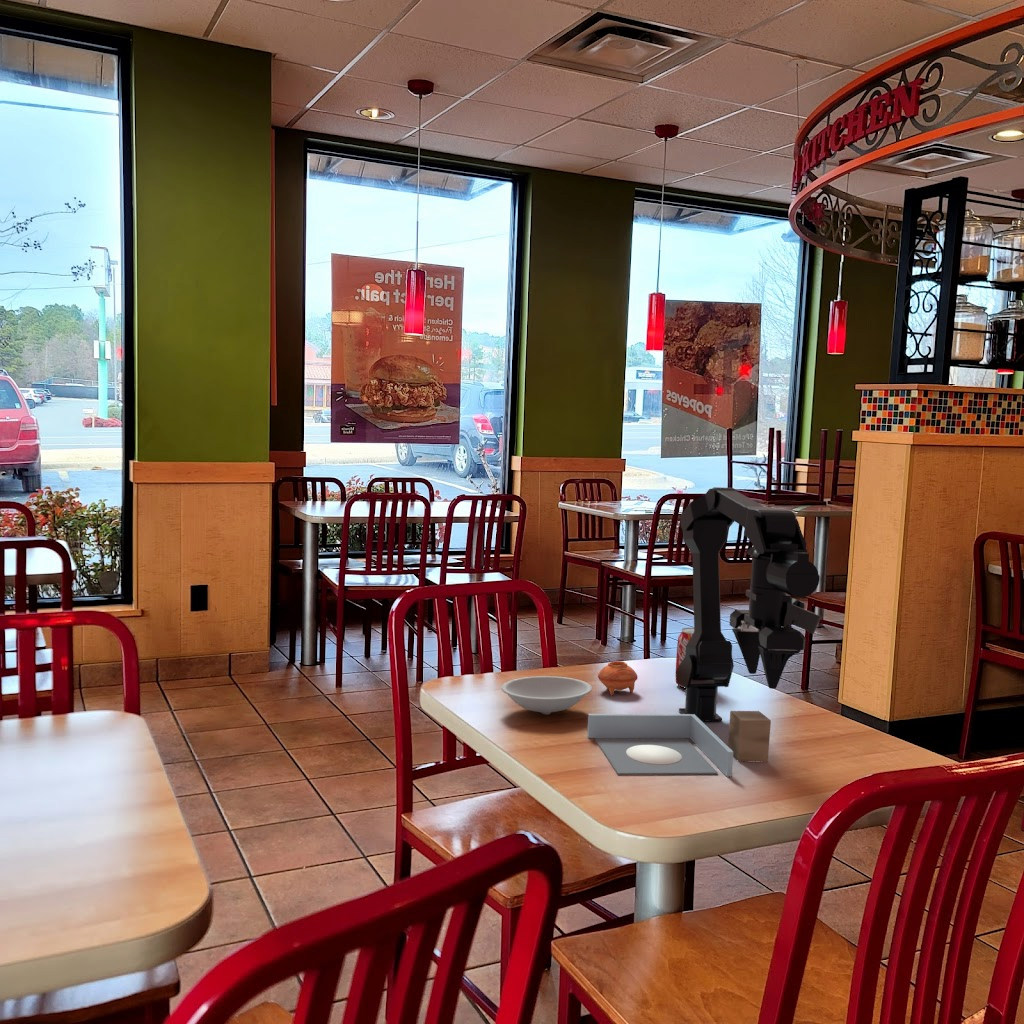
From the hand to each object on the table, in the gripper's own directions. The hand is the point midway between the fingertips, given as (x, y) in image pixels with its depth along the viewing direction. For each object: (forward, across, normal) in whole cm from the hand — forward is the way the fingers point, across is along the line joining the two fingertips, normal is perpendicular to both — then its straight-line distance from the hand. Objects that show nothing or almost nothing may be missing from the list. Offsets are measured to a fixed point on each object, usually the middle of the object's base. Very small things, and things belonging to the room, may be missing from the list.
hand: (762, 680), depth 157 cm
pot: (+13, +37, +16) cm, 43 cm away
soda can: (+13, +42, -1) cm, 44 cm away
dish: (+13, +23, +32) cm, 42 cm away
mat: (+13, 0, +17) cm, 22 cm away
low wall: (+13, 0, +17) cm, 22 cm away
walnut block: (+13, +1, +1) cm, 13 cm away
